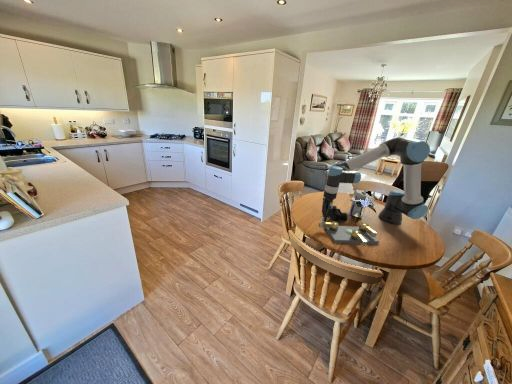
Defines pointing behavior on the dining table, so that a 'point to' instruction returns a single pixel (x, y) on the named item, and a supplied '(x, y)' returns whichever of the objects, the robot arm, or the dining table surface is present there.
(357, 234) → the knob left
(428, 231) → the dining table surface
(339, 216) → the camera
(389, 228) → the dining table surface
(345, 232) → the level plate
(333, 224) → the knob
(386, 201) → the robot arm
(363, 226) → the knob
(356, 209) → the milk carton
